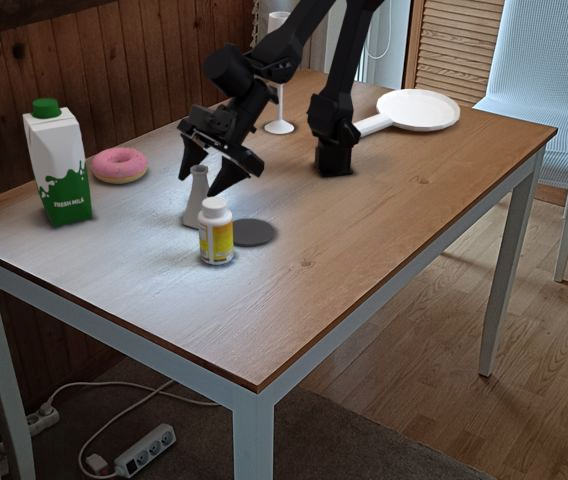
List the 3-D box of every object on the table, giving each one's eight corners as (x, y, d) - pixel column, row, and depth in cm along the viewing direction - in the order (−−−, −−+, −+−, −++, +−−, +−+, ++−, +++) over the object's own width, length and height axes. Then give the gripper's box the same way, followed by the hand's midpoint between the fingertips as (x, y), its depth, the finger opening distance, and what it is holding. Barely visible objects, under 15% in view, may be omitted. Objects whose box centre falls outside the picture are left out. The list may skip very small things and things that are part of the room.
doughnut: (160, 173, 148) (158, 154, 146) (116, 192, 142) (114, 172, 139) (124, 157, 154) (122, 138, 151) (81, 175, 147) (78, 155, 145)
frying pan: (363, 169, 156) (365, 149, 152) (306, 134, 166) (307, 114, 163) (475, 123, 172) (479, 104, 168) (416, 93, 182) (419, 75, 179)
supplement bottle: (238, 252, 126) (237, 197, 119) (225, 269, 122) (223, 213, 115) (208, 246, 127) (205, 191, 121) (194, 262, 123) (190, 207, 117)
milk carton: (85, 199, 140) (67, 93, 127) (99, 220, 133) (81, 111, 121) (38, 208, 136) (15, 101, 124) (50, 231, 130) (27, 120, 118)
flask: (216, 232, 131) (213, 180, 125) (177, 227, 132) (172, 175, 126) (227, 212, 136) (225, 161, 130) (189, 208, 137) (185, 157, 131)
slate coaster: (266, 218, 135) (266, 215, 135) (279, 243, 128) (280, 240, 128) (218, 224, 133) (217, 221, 133) (229, 249, 126) (229, 247, 126)
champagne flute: (258, 129, 166) (258, 16, 151) (274, 119, 171) (275, 8, 156) (284, 136, 164) (286, 21, 149) (299, 126, 168) (303, 13, 153)
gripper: (181, 70, 127) (133, 148, 128) (250, 102, 116) (197, 187, 117) (220, 105, 136) (174, 177, 137) (287, 137, 125) (237, 216, 126)
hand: (194, 188), depth 129 cm, fingers open, 8 cm apart
